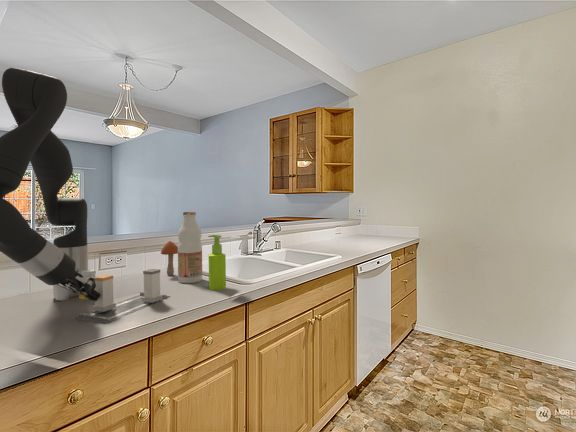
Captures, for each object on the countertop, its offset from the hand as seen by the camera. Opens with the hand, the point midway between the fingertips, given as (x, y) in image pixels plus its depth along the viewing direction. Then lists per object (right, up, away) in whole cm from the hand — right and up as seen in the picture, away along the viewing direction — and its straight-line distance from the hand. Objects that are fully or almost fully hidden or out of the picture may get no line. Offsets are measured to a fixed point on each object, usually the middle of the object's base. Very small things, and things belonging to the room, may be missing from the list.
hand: (96, 297), depth 84 cm
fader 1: (+1, -4, +2) cm, 5 cm away
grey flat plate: (+6, -5, +5) cm, 9 cm away
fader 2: (+11, -4, +10) cm, 15 cm away
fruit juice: (+13, -4, +40) cm, 42 cm away
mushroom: (+1, -4, +51) cm, 51 cm away
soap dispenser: (+27, -4, +25) cm, 37 cm away
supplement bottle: (-12, -5, +15) cm, 19 cm away
